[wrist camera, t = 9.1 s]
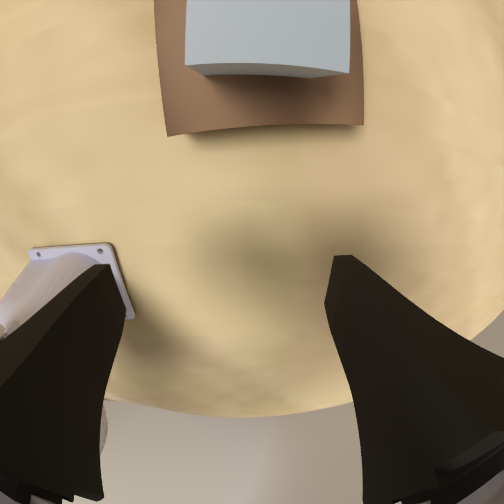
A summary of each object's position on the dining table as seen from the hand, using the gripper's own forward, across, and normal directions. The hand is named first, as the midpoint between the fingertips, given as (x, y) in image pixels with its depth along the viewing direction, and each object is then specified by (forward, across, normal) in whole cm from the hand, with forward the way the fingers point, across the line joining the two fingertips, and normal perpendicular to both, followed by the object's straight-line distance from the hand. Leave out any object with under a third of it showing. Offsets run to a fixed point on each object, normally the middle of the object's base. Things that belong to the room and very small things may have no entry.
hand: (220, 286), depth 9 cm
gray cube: (+7, -2, -9) cm, 11 cm away
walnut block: (+11, -2, -9) cm, 14 cm away
